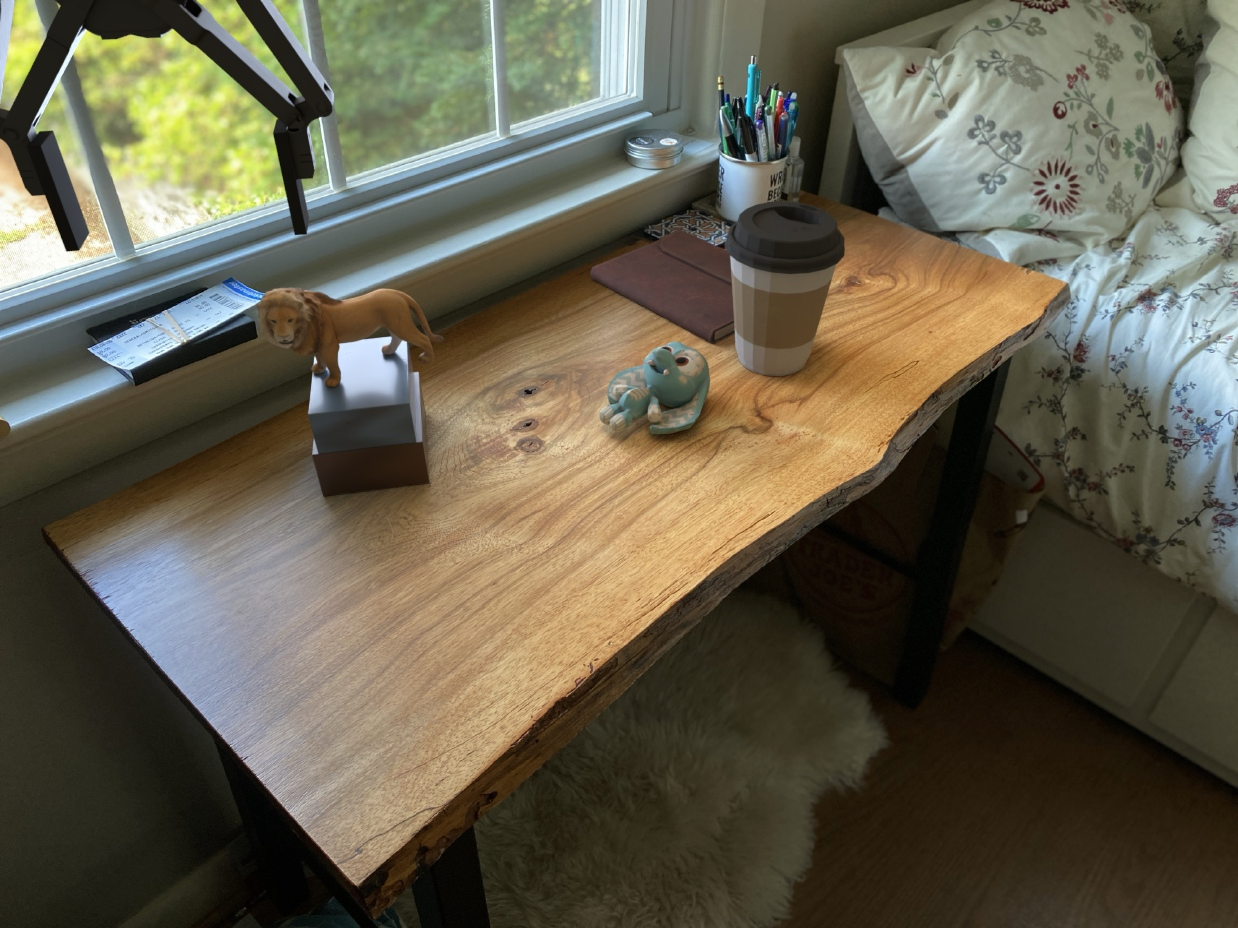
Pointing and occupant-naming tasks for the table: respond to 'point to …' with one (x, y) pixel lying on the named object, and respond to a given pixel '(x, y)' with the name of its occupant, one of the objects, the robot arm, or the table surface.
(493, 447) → the table surface
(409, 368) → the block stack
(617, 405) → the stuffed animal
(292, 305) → the lion figurine
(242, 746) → the table surface
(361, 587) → the table surface
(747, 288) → the coffee cup
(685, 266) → the notebook
